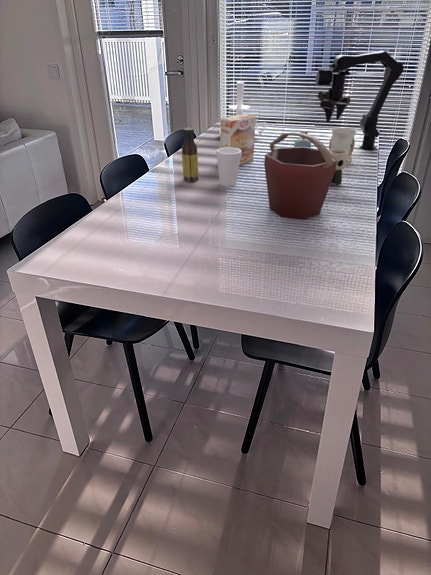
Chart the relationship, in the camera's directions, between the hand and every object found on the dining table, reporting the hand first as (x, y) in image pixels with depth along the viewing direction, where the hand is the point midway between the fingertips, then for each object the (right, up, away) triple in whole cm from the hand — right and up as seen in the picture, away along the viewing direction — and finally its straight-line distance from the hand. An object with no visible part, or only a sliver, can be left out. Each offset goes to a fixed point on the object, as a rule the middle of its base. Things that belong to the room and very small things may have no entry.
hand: (332, 120), depth 209 cm
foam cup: (-52, -40, -39) cm, 76 cm away
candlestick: (-43, -1, +23) cm, 48 cm away
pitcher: (+1, -22, -9) cm, 24 cm away
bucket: (-29, -54, -60) cm, 86 cm away
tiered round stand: (-15, -15, +1) cm, 21 cm away
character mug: (-10, -40, -38) cm, 56 cm away
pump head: (-15, -10, -2) cm, 18 cm away
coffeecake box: (-47, -25, -15) cm, 55 cm away
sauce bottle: (-67, -38, -35) cm, 84 cm away
